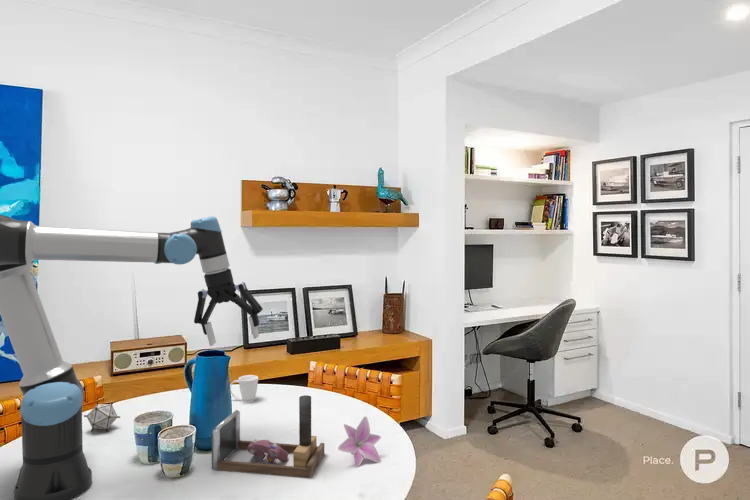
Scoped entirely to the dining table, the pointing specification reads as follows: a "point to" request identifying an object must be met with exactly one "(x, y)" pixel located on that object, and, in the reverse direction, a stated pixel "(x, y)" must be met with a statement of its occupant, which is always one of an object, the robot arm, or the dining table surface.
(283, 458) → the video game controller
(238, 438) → the grey tablet
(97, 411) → the game die
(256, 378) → the cup
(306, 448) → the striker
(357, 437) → the lily
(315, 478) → the dining table surface
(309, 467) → the brown flat rectangular frame
